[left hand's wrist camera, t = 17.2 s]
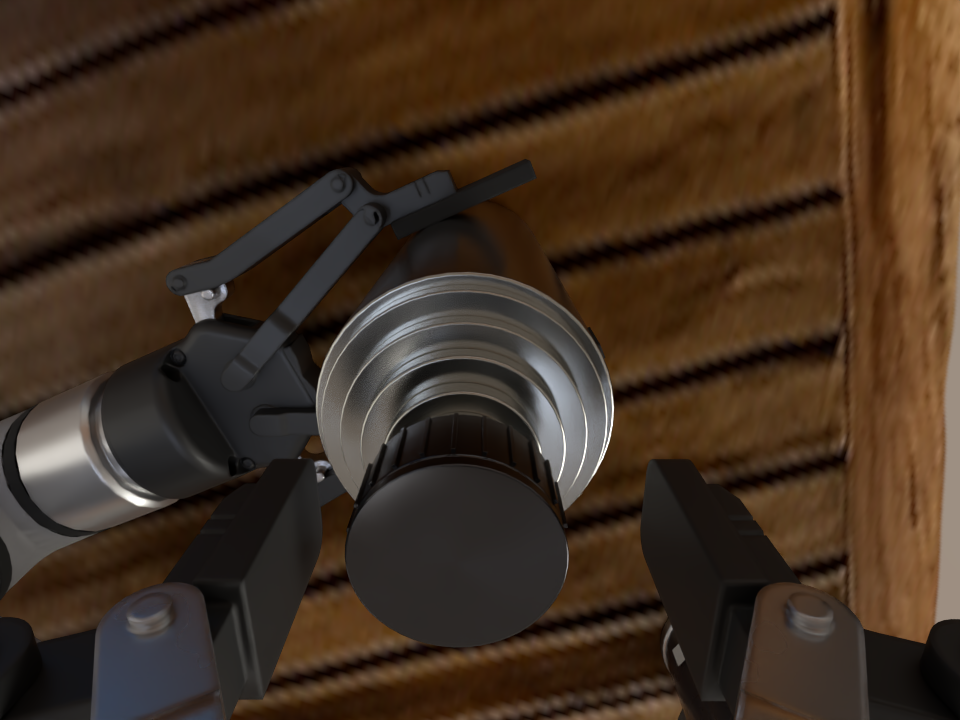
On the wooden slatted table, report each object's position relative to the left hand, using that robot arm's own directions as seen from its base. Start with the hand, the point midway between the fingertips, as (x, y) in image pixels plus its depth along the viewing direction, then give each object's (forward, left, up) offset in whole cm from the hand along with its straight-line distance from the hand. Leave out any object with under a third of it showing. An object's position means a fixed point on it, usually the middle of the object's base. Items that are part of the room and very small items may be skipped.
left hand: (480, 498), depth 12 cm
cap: (0, 0, +1) cm, 1 cm away
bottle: (0, 0, -23) cm, 23 cm away
